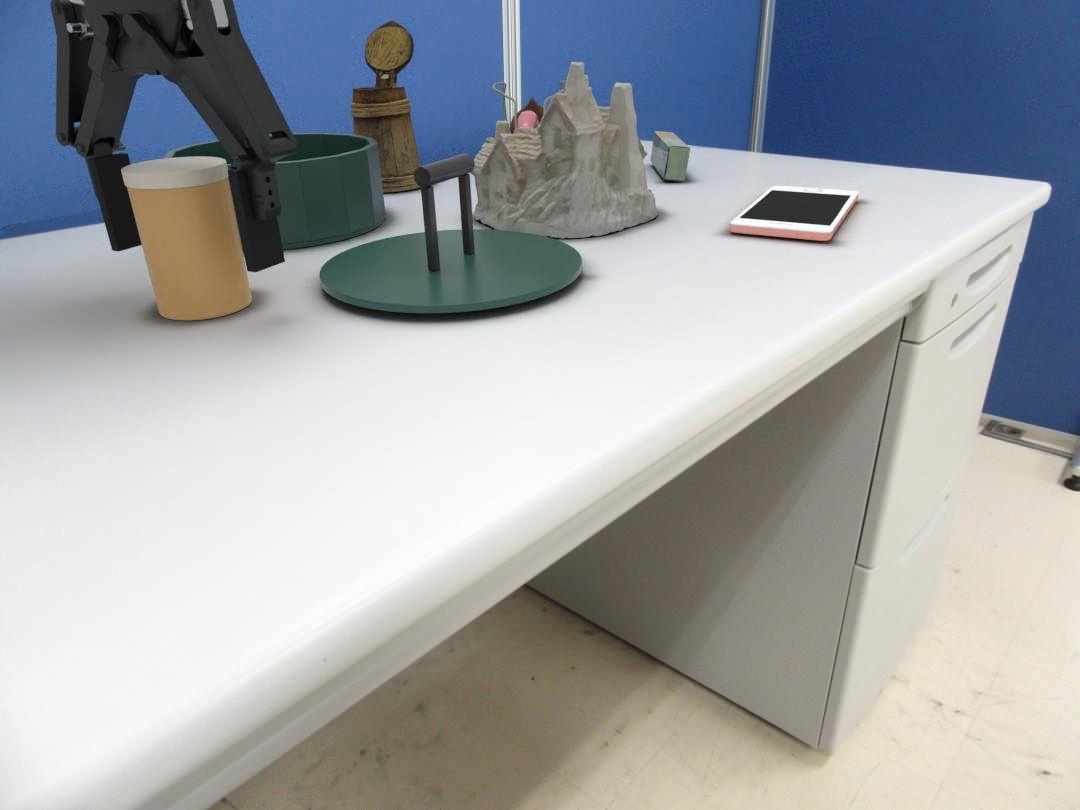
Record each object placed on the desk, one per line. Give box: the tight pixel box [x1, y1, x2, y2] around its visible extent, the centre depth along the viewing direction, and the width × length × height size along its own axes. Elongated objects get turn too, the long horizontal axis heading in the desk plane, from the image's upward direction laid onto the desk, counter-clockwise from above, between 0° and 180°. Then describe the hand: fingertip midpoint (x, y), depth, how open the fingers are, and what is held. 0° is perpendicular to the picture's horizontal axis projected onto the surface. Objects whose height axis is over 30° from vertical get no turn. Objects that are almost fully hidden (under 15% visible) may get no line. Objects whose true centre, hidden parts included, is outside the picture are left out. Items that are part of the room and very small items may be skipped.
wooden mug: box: [350, 20, 422, 194], centre depth 94 cm, size 9×14×18 cm, turn 175°
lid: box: [318, 153, 583, 314], centre depth 60 cm, size 20×20×9 cm
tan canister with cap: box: [121, 156, 253, 321], centre depth 55 cm, size 7×7×10 cm
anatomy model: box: [492, 80, 566, 134], centre depth 100 cm, size 10×14×15 cm
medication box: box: [649, 130, 691, 183], centre depth 98 cm, size 12×3×4 cm, turn 1°
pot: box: [163, 132, 387, 251], centre depth 78 cm, size 19×19×8 cm
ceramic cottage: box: [469, 61, 659, 240], centre depth 76 cm, size 16×16×15 cm
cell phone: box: [729, 185, 860, 242], centre depth 77 cm, size 9×18×1 cm, turn 153°
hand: (195, 256), depth 56 cm, fingers open, 13 cm apart
